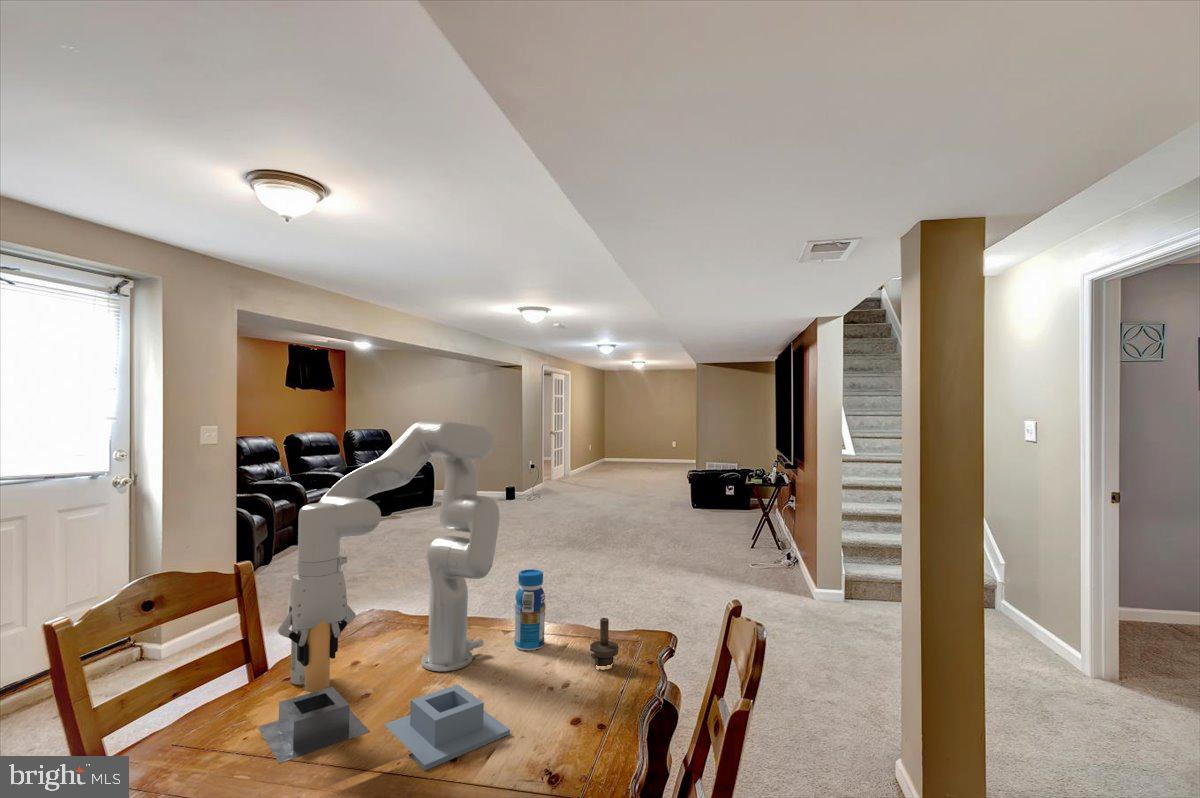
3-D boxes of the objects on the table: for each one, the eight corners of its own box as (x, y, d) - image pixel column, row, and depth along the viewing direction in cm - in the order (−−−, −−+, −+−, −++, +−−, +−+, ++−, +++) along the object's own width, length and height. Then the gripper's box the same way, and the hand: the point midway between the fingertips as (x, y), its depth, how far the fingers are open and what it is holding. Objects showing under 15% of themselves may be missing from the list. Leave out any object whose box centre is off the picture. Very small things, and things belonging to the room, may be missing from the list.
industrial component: (613, 659, 152) (614, 613, 152) (623, 671, 145) (624, 622, 146) (579, 663, 149) (579, 616, 150) (587, 675, 142) (588, 625, 143)
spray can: (308, 687, 134) (311, 599, 134) (283, 684, 135) (285, 597, 136) (328, 675, 140) (330, 590, 141) (303, 672, 142) (305, 588, 142)
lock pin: (325, 679, 118) (326, 609, 118) (332, 687, 115) (333, 615, 115) (301, 686, 115) (302, 614, 115) (308, 694, 112) (309, 620, 112)
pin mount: (341, 705, 126) (342, 677, 126) (370, 736, 114) (371, 705, 114) (257, 732, 115) (258, 701, 115) (279, 769, 103) (280, 734, 103)
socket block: (464, 700, 129) (464, 673, 129) (510, 734, 116) (510, 703, 116) (383, 729, 117) (384, 698, 117) (424, 770, 103) (425, 736, 104)
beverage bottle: (507, 645, 160) (509, 571, 161) (531, 637, 166) (532, 566, 167) (527, 654, 154) (529, 578, 155) (551, 645, 160) (552, 572, 161)
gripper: (355, 556, 124) (354, 643, 124) (266, 570, 113) (264, 666, 112) (369, 563, 118) (367, 654, 118) (276, 579, 107) (275, 680, 107)
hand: (317, 659), depth 115 cm, fingers closed on lock pin, 4 cm apart
